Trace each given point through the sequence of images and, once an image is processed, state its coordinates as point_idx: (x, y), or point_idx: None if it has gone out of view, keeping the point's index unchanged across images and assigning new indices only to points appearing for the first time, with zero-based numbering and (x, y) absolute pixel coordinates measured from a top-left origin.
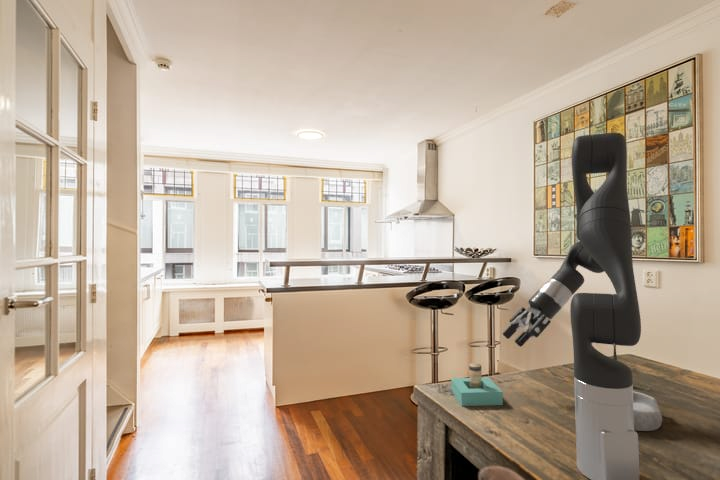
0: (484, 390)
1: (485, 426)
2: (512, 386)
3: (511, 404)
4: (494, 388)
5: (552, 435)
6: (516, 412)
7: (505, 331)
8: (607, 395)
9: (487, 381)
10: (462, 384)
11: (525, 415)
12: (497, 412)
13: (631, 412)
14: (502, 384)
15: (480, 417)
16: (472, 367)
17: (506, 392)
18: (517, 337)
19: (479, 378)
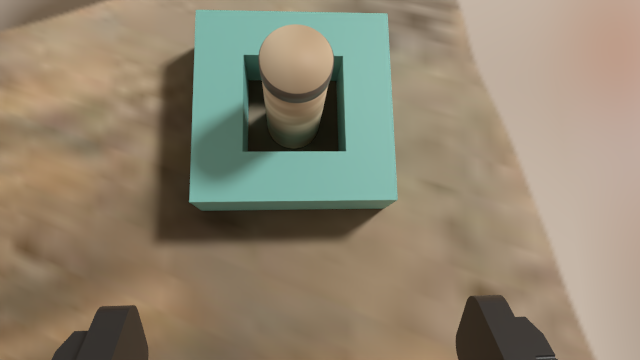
0: (214, 121)
1: (15, 75)
2: (421, 340)
3: (205, 251)
4: (236, 177)
5: None
6: (121, 241)
7: (489, 327)
8: None
9: (335, 174)
10: None
11: (87, 268)
12: (130, 161)
13: None
14: (448, 298)
15: (93, 81)
16: (268, 36)
17: (344, 280)
18: (107, 349)
19: (265, 99)
